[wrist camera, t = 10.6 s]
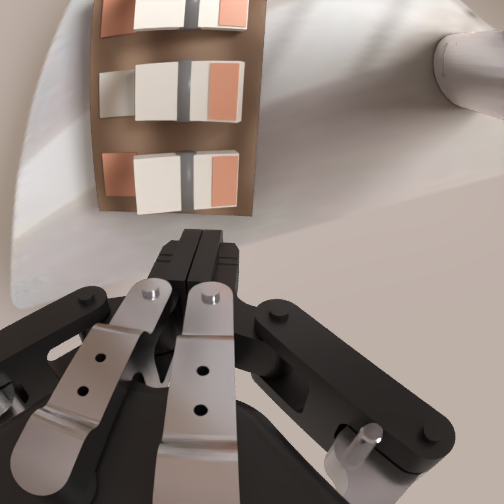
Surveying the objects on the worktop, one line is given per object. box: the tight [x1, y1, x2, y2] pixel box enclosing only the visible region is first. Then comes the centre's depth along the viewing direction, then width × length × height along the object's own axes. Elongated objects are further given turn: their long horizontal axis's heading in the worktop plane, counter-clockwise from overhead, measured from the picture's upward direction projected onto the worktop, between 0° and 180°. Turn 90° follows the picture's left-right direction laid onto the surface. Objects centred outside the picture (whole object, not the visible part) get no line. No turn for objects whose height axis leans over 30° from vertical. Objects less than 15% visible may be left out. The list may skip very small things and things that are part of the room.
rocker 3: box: [133, 150, 239, 215], centre depth 28 cm, size 9×5×2 cm, turn 87°
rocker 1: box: [134, 0, 249, 32], centre depth 19 cm, size 9×5×2 cm, turn 87°
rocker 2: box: [135, 60, 245, 123], centre depth 23 cm, size 9×5×2 cm, turn 86°
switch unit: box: [90, 0, 267, 216], centre depth 27 cm, size 16×24×4 cm, turn 177°
